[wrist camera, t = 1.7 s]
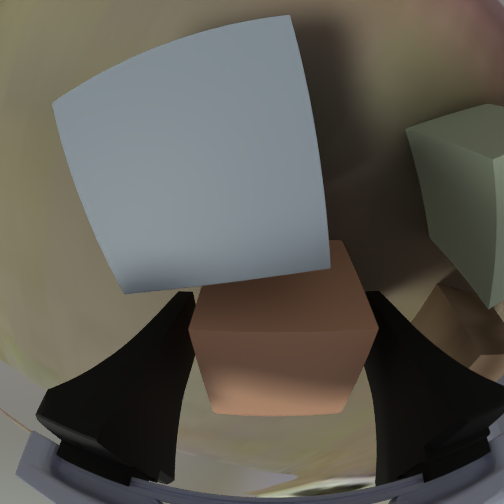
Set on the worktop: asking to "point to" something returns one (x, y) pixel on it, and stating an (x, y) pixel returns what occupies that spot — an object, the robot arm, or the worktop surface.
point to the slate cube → (201, 160)
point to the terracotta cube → (284, 340)
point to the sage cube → (465, 192)
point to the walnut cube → (464, 330)
